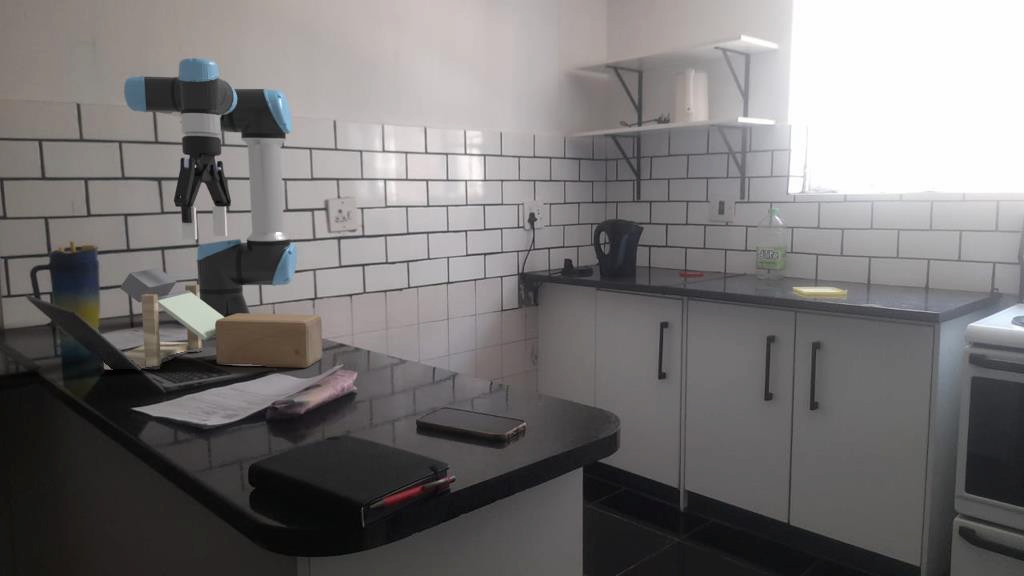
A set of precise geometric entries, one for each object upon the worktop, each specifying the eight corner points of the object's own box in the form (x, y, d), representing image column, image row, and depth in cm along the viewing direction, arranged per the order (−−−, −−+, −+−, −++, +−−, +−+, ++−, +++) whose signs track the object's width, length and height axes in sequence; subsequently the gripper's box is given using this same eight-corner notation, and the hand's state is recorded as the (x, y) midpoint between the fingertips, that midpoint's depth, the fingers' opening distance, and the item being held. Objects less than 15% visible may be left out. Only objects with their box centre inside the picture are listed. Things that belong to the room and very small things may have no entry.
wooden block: (214, 366, 153) (307, 369, 152) (212, 319, 152) (306, 321, 150) (236, 356, 163) (323, 359, 161) (234, 312, 162) (322, 314, 160)
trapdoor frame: (154, 350, 169) (151, 283, 167) (202, 351, 168) (199, 284, 166) (104, 369, 150) (99, 294, 148) (157, 370, 149) (153, 295, 148)
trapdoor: (152, 281, 164) (162, 267, 164) (227, 337, 165) (237, 323, 164) (115, 288, 151) (125, 273, 150) (197, 350, 151) (207, 335, 150)
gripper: (212, 140, 165) (215, 234, 168) (151, 130, 141) (156, 240, 143) (244, 140, 165) (247, 235, 167) (188, 130, 140) (193, 241, 143)
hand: (205, 237), depth 155 cm, fingers open, 13 cm apart
